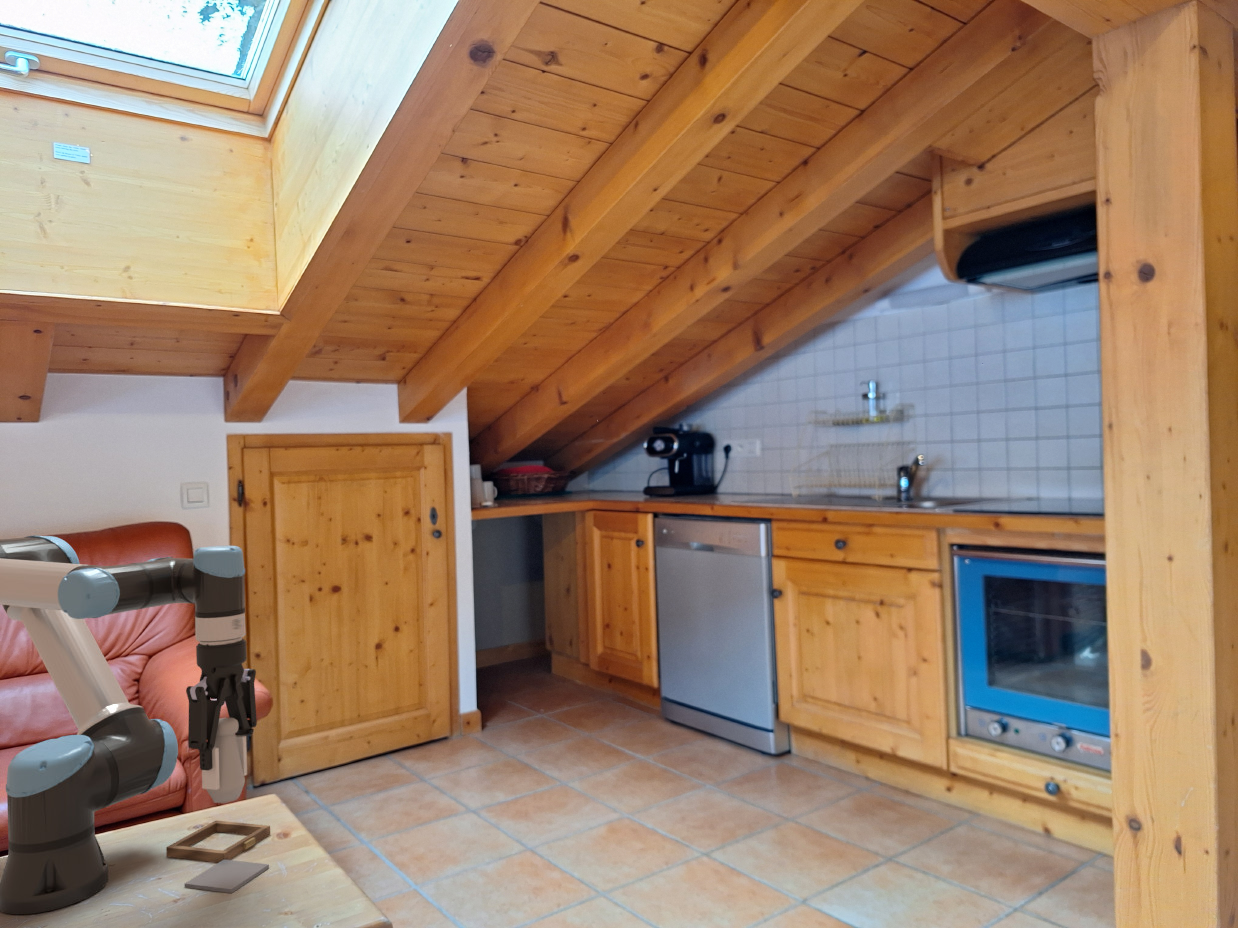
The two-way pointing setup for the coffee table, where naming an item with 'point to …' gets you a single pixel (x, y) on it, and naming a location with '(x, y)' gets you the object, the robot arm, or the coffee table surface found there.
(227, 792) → the salt shaker
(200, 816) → the coffee table surface
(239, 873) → the coaster
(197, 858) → the brown wooden frame
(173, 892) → the coffee table surface
